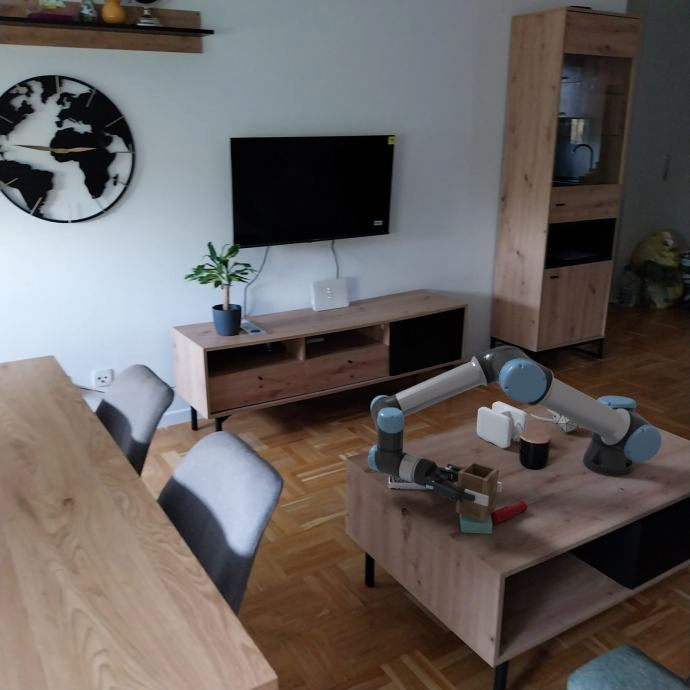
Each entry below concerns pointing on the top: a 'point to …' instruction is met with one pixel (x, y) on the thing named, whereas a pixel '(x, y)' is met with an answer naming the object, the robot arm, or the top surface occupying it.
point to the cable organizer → (501, 424)
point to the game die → (567, 424)
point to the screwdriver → (511, 510)
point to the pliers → (549, 418)
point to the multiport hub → (403, 484)
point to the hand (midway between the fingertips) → (494, 494)
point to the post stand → (475, 524)
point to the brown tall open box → (478, 489)
